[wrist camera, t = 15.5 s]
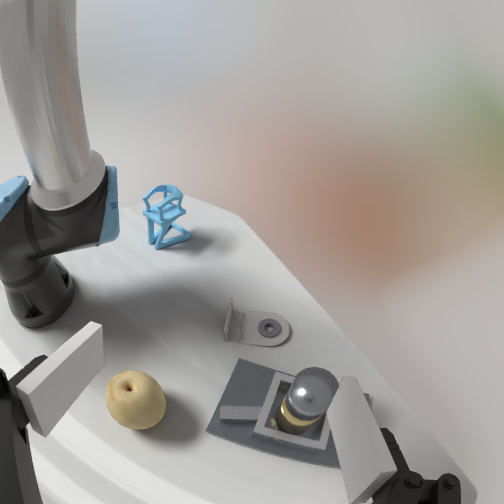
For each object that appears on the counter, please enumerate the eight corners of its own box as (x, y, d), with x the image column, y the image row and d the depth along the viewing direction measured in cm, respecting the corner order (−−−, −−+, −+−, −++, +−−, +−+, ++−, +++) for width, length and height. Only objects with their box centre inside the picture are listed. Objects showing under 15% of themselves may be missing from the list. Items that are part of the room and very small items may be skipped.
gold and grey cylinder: (271, 427, 30) (286, 402, 24) (282, 395, 34) (299, 362, 28) (308, 436, 29) (334, 414, 23) (317, 404, 33) (342, 373, 27)
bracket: (288, 350, 41) (292, 338, 39) (223, 342, 42) (223, 330, 40) (288, 317, 47) (292, 304, 44) (229, 310, 47) (230, 296, 45)
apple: (123, 443, 26) (86, 405, 24) (132, 403, 34) (102, 365, 31) (175, 436, 27) (139, 395, 24) (177, 392, 34) (150, 352, 32)
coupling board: (206, 431, 30) (204, 425, 28) (239, 361, 39) (240, 349, 37) (351, 470, 26) (363, 466, 24) (366, 396, 35) (376, 387, 33)
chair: (142, 239, 59) (134, 191, 51) (170, 223, 64) (166, 177, 56) (163, 255, 55) (156, 204, 48) (192, 237, 61) (190, 188, 53)
